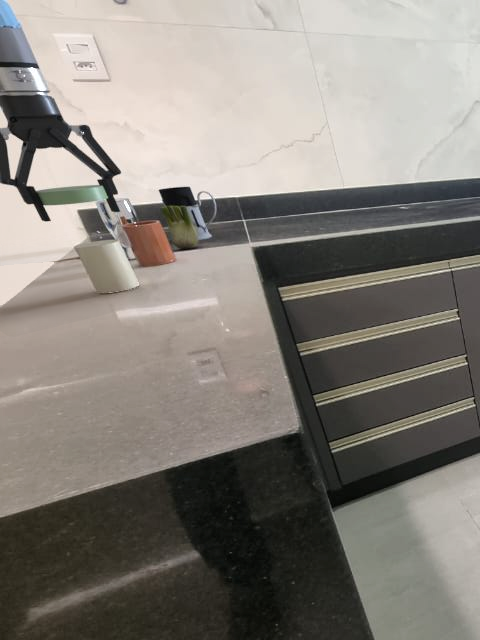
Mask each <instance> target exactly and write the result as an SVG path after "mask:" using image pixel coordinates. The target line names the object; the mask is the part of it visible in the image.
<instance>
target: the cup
mask: <svg viewBox="0 0 480 640" xmlns="http://www.w3.org/2000/svg"><path fill="white" fill-rule="evenodd" d="M121 227H122V230H123V232H124V234H125V236H126V238H127V240H128V243H129V245H130V247H131V249H132V251H133V253H134V255H135V258H136V259H135V260H136V262H137V264H138V265H139V266H140V267H155V266H161V265H166V264H170V263H173V262H176V261H177V259H176V256H175V253H174V251H173V248H172V246H171V243H170V241H169V239H168V237H167V234H166V232H165V230H164V227H163V225H162V223H161V221H160V220H144V221H143V220H142V221H139V222H136V223H130V224H125V225H122V226H121Z"/></svg>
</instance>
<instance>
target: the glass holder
mask: <svg viewBox="0 0 480 640" xmlns="http://www.w3.org/2000/svg"><path fill="white" fill-rule="evenodd" d="M158 192H159V195H160V197H161V201H162V204H163V207H166V206H171V208H172V210H173V207H172V206H178V207H179V209H180V211H181V208H180V206H186V208H187V211H188V214H189V217H190V219H191V221H192V223H193V225H194V227H195V230H196V232H197V236H198V241H201V240H207V239H210V238H212V237H213V236H212V234H211V233H210V232H209V230H208V227H209V226H210V225H211V223H212V221H214V219H215V217H216V216H217V203H216V200H215V197H214V196H213V194H212V193H211V192H208V191H206V190H202V191H201V190H200V191H199V192H198V193H197V196H196V199H197V201H198V202H197V201H196V199H195V196H194V194H193V191H192V188H191V187H190V186H177V187H166V188H160V189H158ZM203 193H205V194H207V195H209V197H210V198H211V200H212V203H213V208H214V209H213V215H212V217H211V218H210V219H209V221H208V222H207V223H206V222H205V219H204V218H203V217H204V216H203V214H202V212H201V209H200V207H201V206H202V201H201V194H203ZM173 212H174V210H173ZM174 214H175V212H174ZM181 214H182V212H181ZM175 216H176V214H175ZM182 216H183V215H182ZM176 218H177V217H176ZM177 220H178V219H177Z"/></svg>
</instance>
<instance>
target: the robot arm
mask: <svg viewBox="0 0 480 640" xmlns="http://www.w3.org/2000/svg"><path fill="white" fill-rule="evenodd" d="M43 74H44V73H42V71H41V68H40V66H39V63H38V61H37V59H36V57H35V54H34V52H33V50H32V48H31V45H30V43H29V41H28V38H27V36H26V33H25V32H24V29H23V25H22V24H21V23H20V22H19V21H18V19H17V16H16V15H15V13H14V10H13V9H12V7H11V5H10V4H9V2H7V1H6V0H0V109H1V112H2V113H3V115H4V117H5V119H6V122H7V125H6V127H0V184H1V185H7V186H12V187H15V188H16V189H17V192H18V193H19V195H20V196H21V198H22V201H23V202H24V203H25V204H26V205H33V206H34V208H35V210H36V212H37V214H38V215H39V218H40V220H41V221H42V222H52V220H51V218H50V216H49V214H48V212H47V210H46V208H45V205H43V204H42V202H41V200H40V198H39V196H38V194H37V192H36V191H37V190H36V188H35V186H33V185H28V181H29V177H30V173H31V169H32V166H33V161H34V156H35V154H36V151H37V149H38V150H44V149H49V148H53V149H62V148H63V149H64V150H66V151H67V152H69V154H71V155H73V156H74V157H75V158H76V159H78V160H79V161H80V162H81V163H82V164H84V166H86V167H88V168H89V169H90V170H91V171H92V172H94V173H95V174H96V175H98V177H100V178H98V179H96V181H97V184H98V185H102V186H103V187H104V189H105V192H106V194H107V196H108V199H105V200H107V203H108V205H109V207H110V209H111V211H112V212H120V209H119V207H118V205H117V203H116V201H115V199H116V198H115V196H117V195H119V191H118V189H117V187H116V184H115V182H114V179H113V178H114V177H116V176H118V175H119V176H120V175H122V171H121V169H120V168H119V167H118V166H117V164H116V163H115V162H114V161H113V159H112V158H111V156H109V154H108V153H107V152H106V151H105V149H104V148H103V147H102V146H101V144H99V142H98V141H97V139H96V138H95V137H94V135H93V132H92V130H91V128H90V126H89V125H87V124H77V125H76V124H75V125H72V124H71V125H70V124H69V123H67V121H65V119H64V117H63V114H62V113H61V111H60V108H59V106H58V104H57V102H56V99H55V98H54V97H53V96H51V95H49V93H51V89H50V87H49V84H48V83H47V80H46V79H45V77H44V75H43ZM72 132H73V133H75V135H76V136H78V137H79V138H80V137H81V139H82V140H83V142H84V143H85V144H86V145H87V147H88V148H89V149H90V150H91V152H93V154H94V156H96V157H97V158H98V160H99V161H100V162H101V163H102V165H103V166H104V167H105V168H103V166H101V165H100V164H98V163H97V162H96V161H95V160H94V159H92V158H91V157H90V156H89V155H87V154H86V153H85V152H84V151H83V150H82V149H80V148H79V147H78V146H77V145H76V144H74V143H73V142H72V141H71V140H70V136H71V133H72ZM10 134H11V135H13V136H14V137H16V138H17V139H19V140H20V141H22V144H21V151H20V156H19V160H18V164H17V168H16V171H15V175H14V178H12V176H11V175H12V174H11V168H10V160H9V153H8V146H7V145H8V144H7V141H8V140H9V139H10V138H9V136H10ZM106 169H107V170H106Z"/></svg>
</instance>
